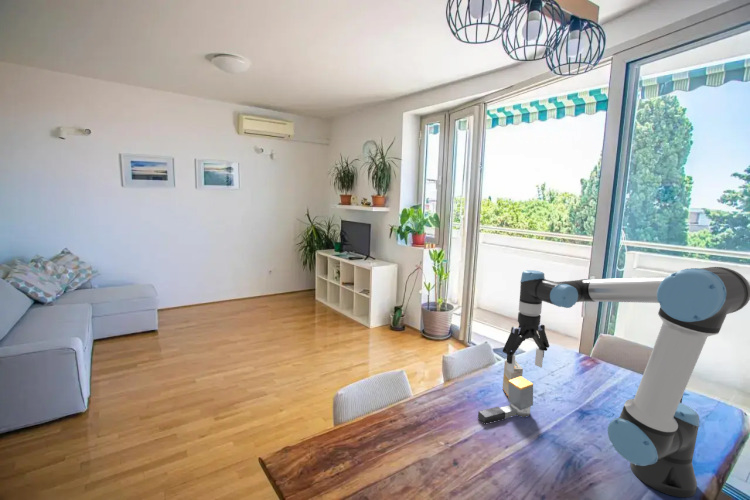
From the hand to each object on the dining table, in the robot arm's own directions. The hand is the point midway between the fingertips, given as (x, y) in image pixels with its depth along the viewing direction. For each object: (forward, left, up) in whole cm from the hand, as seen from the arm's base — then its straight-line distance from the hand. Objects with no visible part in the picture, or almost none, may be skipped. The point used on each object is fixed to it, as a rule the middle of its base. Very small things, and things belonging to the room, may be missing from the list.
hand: (524, 368), depth 134 cm
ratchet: (0, +7, -17) cm, 19 cm away
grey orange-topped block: (0, 0, -14) cm, 14 cm away
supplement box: (+11, -6, -18) cm, 22 cm away
